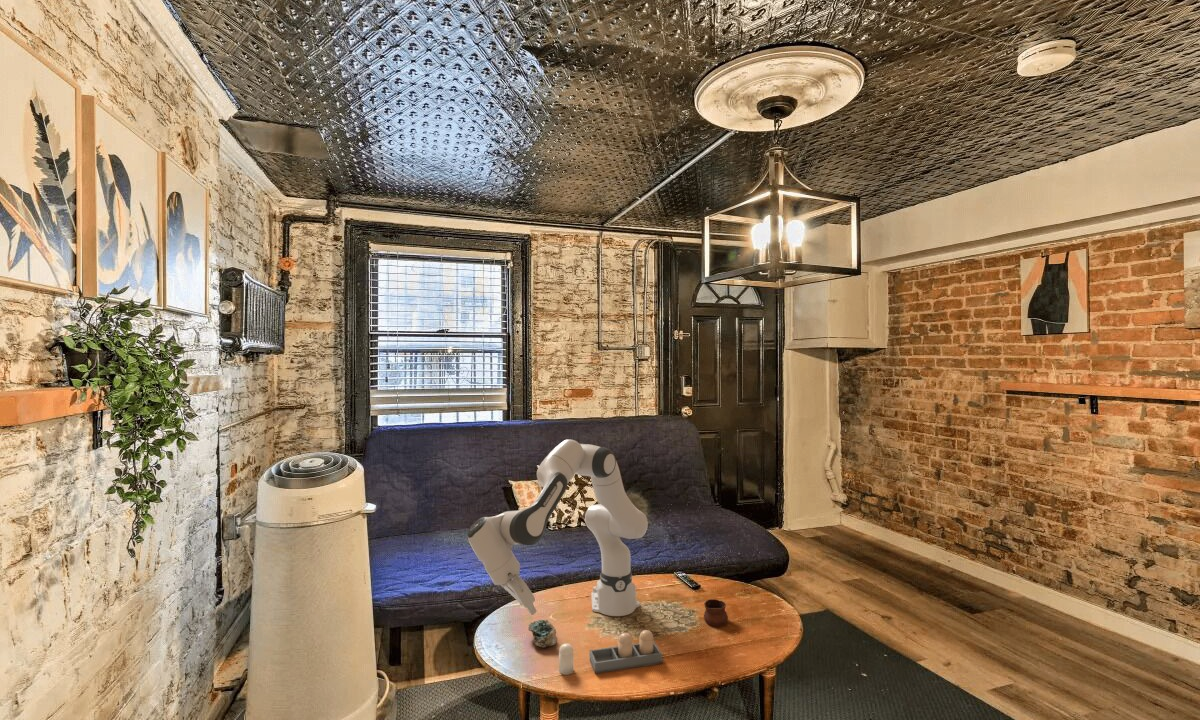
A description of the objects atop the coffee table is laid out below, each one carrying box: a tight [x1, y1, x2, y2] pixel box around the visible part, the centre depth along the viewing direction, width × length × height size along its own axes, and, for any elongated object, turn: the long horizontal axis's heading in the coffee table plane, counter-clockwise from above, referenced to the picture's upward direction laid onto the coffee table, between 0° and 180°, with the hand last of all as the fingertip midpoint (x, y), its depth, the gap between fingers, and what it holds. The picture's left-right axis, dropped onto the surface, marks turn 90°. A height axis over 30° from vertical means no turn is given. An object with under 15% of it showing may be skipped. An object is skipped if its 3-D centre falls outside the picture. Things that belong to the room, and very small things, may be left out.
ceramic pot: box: [703, 598, 729, 628], centre depth 199 cm, size 18×18×7 cm
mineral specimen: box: [528, 619, 557, 648], centre depth 186 cm, size 12×9×8 cm
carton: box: [589, 629, 663, 675], centre depth 174 cm, size 8×22×9 cm, turn 104°
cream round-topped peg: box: [558, 643, 574, 676], centre depth 169 cm, size 4×4×8 cm
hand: (528, 608), depth 162 cm, fingers open, 8 cm apart
